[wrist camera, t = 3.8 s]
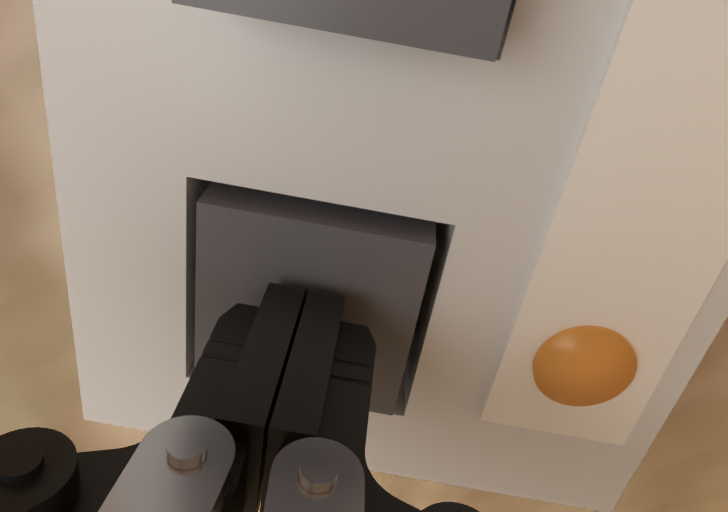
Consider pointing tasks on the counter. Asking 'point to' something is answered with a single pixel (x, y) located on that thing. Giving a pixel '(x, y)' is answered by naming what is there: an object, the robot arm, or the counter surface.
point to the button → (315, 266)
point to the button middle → (387, 20)
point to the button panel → (417, 214)
